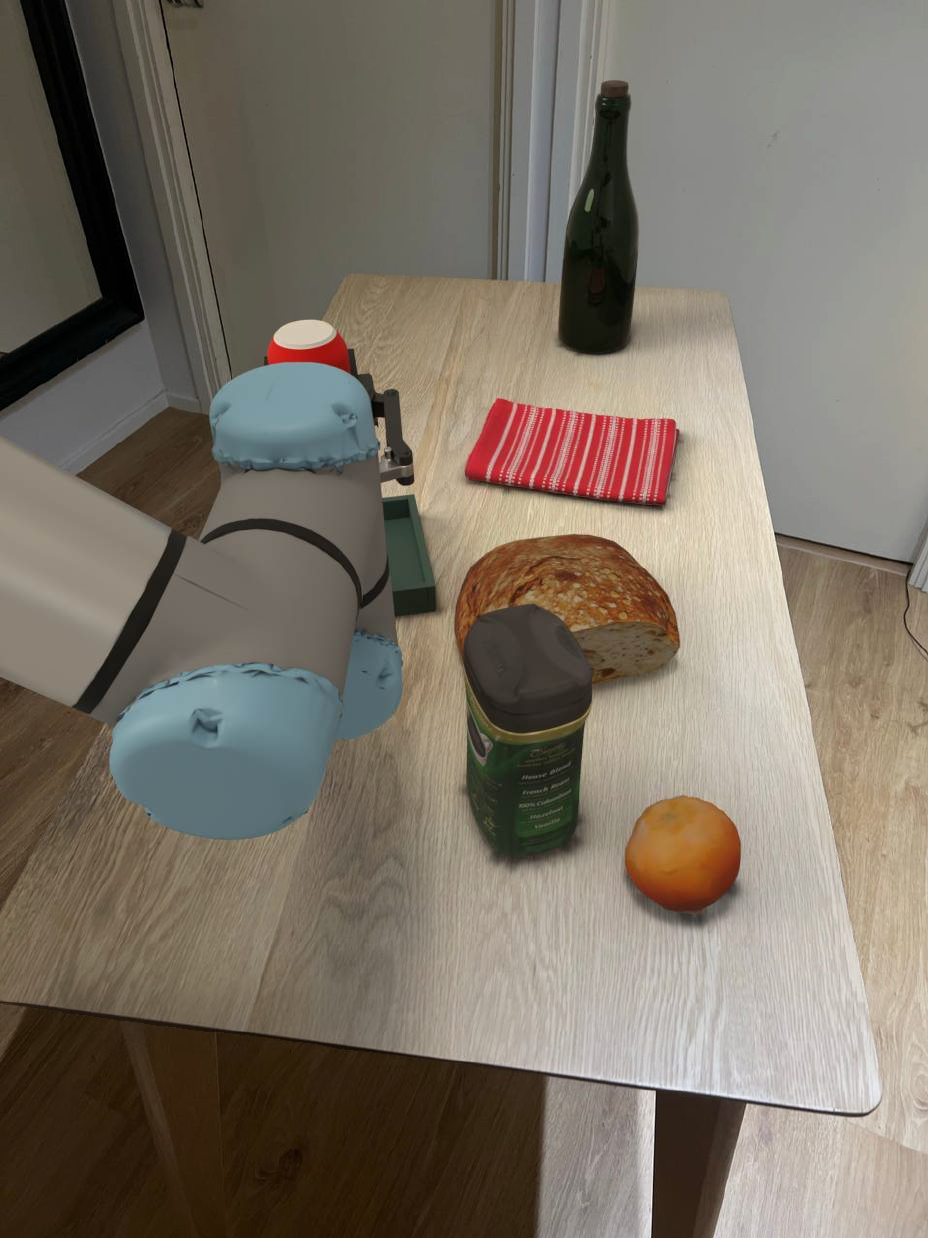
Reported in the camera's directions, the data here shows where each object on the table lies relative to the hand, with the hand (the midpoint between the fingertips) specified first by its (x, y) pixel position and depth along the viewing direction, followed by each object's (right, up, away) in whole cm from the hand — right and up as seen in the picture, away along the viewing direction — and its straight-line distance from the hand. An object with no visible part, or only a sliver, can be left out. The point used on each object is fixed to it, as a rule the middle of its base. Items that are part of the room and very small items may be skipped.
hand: (311, 367), depth 74 cm
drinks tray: (0, -16, +18) cm, 24 cm away
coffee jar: (+17, -36, -4) cm, 40 cm away
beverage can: (+1, -8, +1) cm, 8 cm away
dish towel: (+26, -2, +33) cm, 42 cm away
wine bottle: (+32, +20, +55) cm, 67 cm away
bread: (+22, -23, +11) cm, 33 cm away
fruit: (+29, -40, -9) cm, 50 cm away
